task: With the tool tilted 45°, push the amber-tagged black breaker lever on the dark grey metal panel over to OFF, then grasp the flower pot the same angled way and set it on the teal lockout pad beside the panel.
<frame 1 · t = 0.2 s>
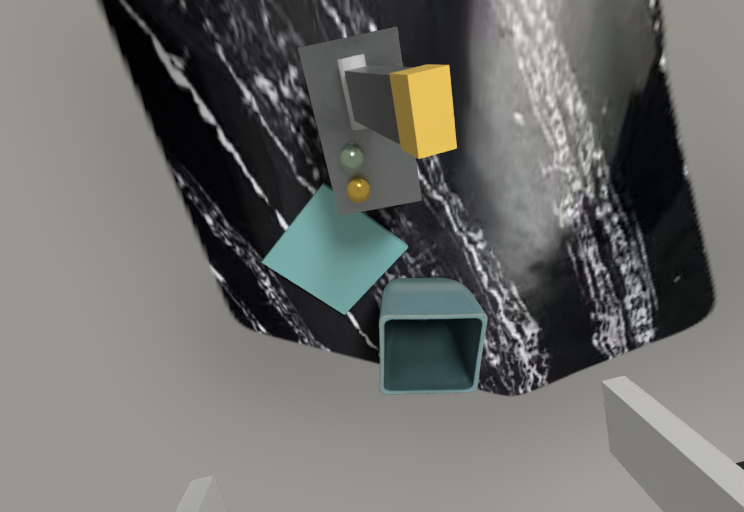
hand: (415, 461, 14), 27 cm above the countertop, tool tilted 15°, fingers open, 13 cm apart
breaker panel: (363, 111, 34), on the countertop
flower pot: (417, 297, 43), on the countertop
lockout pad: (334, 252, 40), on the countertop
breaker lever: (383, 100, 20), point 14 cm above the countertop, hinge at -15.0°
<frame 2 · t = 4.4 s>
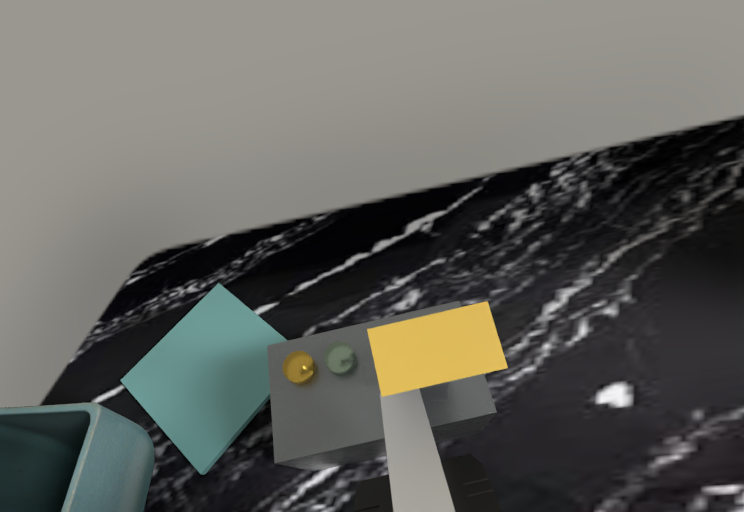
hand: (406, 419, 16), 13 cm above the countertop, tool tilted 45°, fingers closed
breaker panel: (387, 405, 28), on the countertop
flower pot: (114, 498, 28), on the countertop
lockout pad: (214, 369, 31), on the countertop
breaker lever: (424, 356, 16), point 14 cm above the countertop, hinge at -14.6°, touching gripper
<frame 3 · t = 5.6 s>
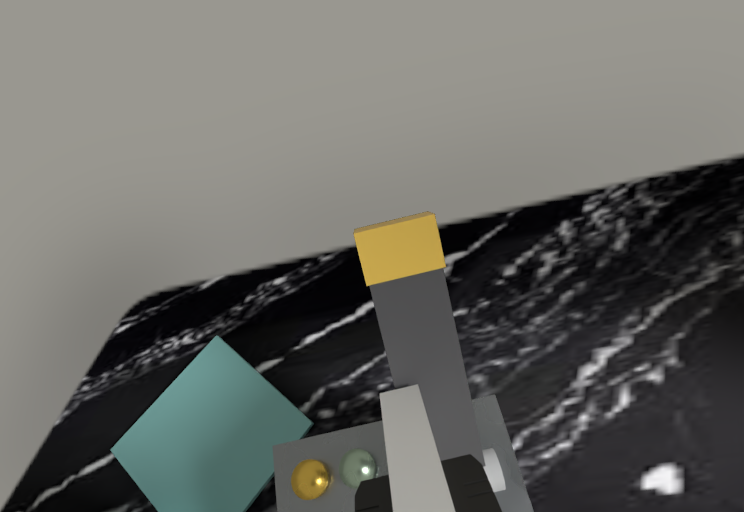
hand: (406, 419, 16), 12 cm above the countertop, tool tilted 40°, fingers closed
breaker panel: (406, 485, 25), on the countertop
lockout pad: (213, 437, 28), on the countertop
breaker lever: (426, 366, 17), point 12 cm above the countertop, hinge at 52.2°, touching gripper
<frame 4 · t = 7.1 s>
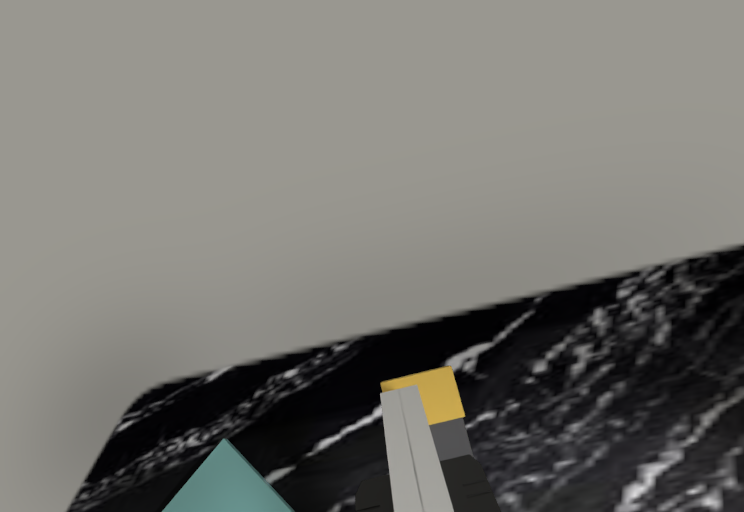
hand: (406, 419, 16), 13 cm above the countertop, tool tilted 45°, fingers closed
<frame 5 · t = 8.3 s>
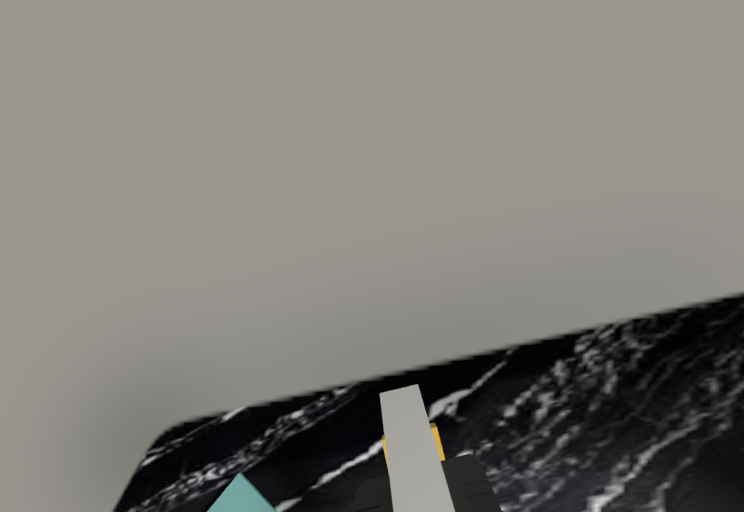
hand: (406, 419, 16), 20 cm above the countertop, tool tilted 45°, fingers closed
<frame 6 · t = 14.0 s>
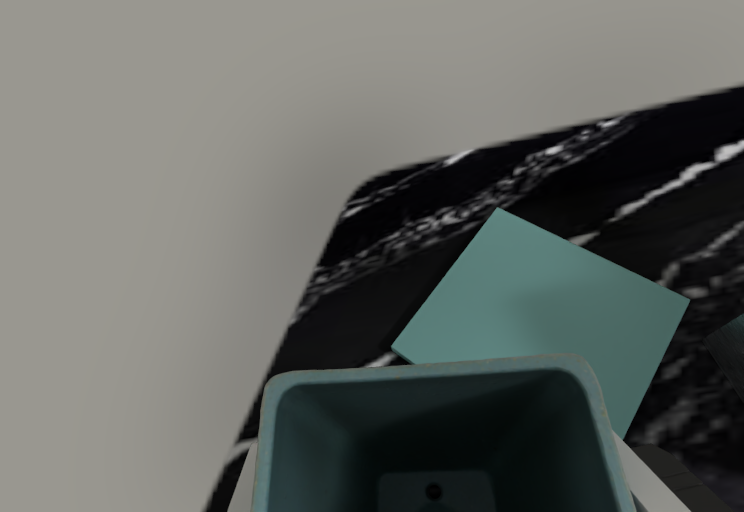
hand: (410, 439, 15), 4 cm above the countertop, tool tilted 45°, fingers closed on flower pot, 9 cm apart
lockout pad: (535, 328, 20), on the countertop
when the fingers open (5 cm above the countertop, at t = 19.2 s): flower pot stays where it is, resting on lockout pad.
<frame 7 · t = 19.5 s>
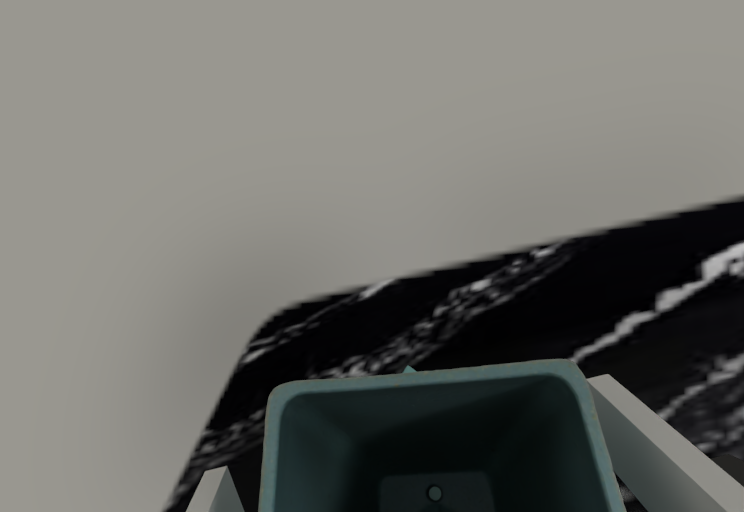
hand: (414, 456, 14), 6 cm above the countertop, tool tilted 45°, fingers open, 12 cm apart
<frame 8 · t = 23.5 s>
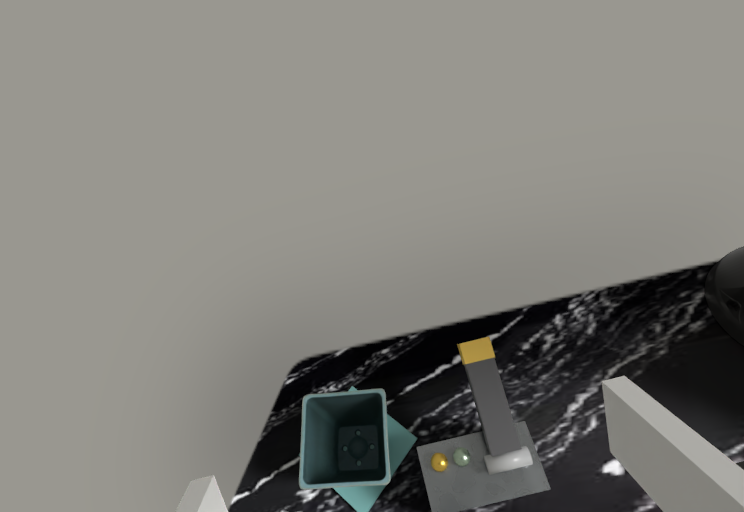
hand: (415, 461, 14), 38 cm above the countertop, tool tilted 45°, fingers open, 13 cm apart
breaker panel: (474, 472, 46), on the countertop
flower pot: (358, 447, 49), resting on lockout pad
lockout pad: (358, 447, 49), on the countertop
breaker lever: (490, 402, 40), point 11 cm above the countertop, hinge at 72.8°
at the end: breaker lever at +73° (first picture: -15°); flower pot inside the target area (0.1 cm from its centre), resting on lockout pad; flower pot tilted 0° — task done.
